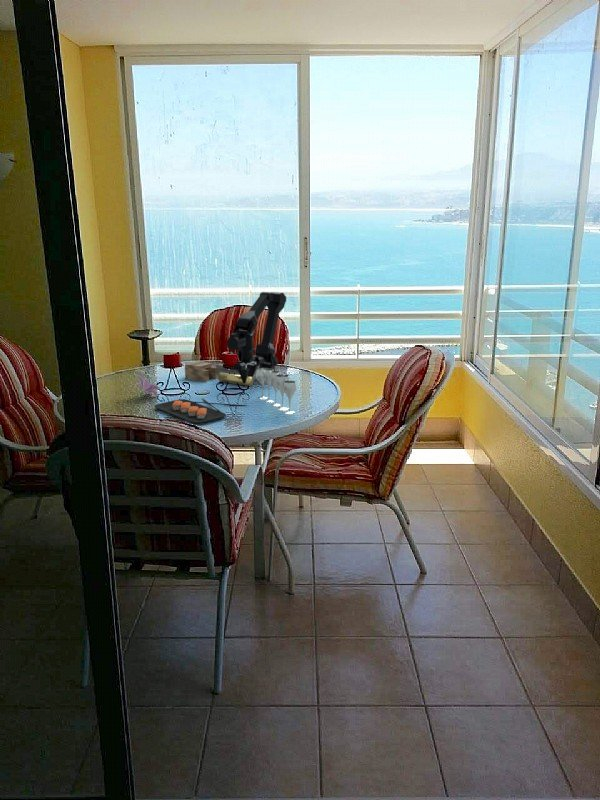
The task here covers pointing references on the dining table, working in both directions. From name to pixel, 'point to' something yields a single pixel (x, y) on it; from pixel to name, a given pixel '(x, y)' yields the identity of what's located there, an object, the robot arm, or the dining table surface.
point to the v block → (225, 370)
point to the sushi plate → (192, 410)
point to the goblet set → (276, 386)
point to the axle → (234, 379)
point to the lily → (147, 385)
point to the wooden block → (200, 371)
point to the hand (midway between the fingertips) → (246, 381)
